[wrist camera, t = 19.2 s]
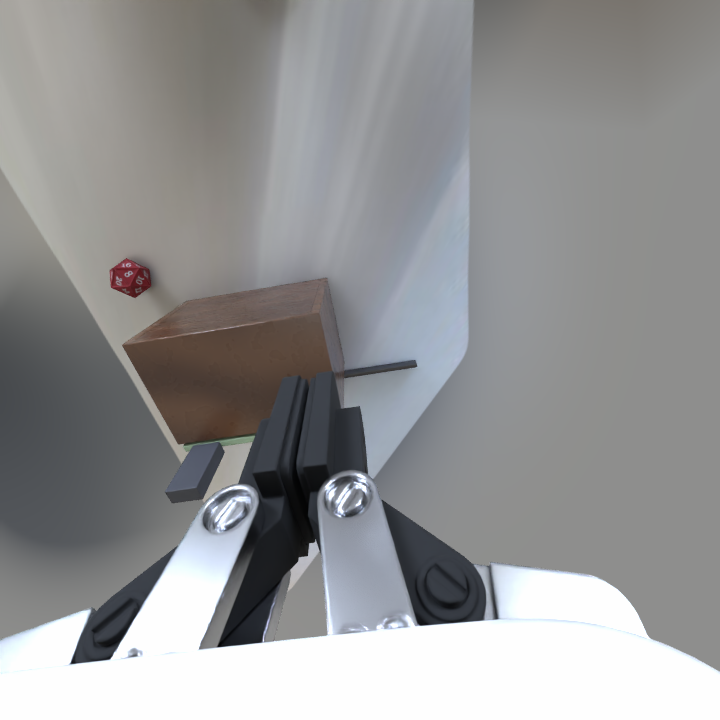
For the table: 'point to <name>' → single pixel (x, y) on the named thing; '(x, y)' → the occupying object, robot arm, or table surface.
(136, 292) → the dice
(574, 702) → the robot arm
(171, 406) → the cabinet
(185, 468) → the sliding door
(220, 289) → the table surface
